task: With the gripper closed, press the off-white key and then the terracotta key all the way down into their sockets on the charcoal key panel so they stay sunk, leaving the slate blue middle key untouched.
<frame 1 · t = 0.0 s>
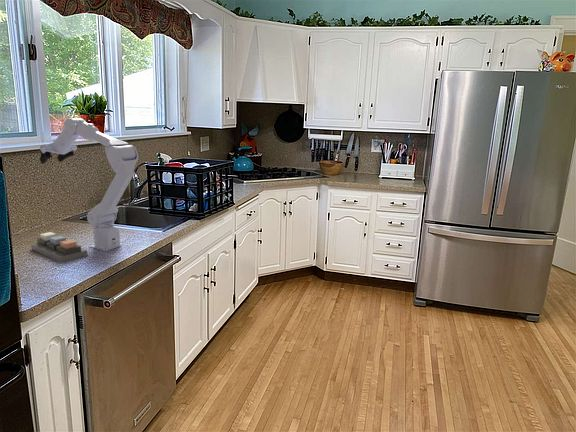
hand: (50, 160, 172), 32 cm above the worktop, tool tilted 50°, fingers open, 7 cm apart
key panel: (59, 252, 160), on the worktop
slate blue key: (58, 240, 158), point 5 cm above the worktop, slide at 0.0 cm
terracotta key: (68, 244, 154), point 5 cm above the worktop, slide at 0.0 cm
off-white key: (48, 236, 163), point 5 cm above the worktop, slide at 0.0 cm
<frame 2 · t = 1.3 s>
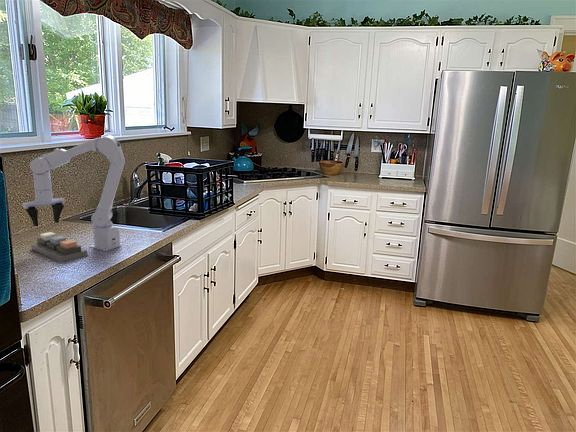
hand: (46, 224, 162), 10 cm above the worktop, tool pointing down, fingers open, 7 cm apart
nothing on the worktop moved.
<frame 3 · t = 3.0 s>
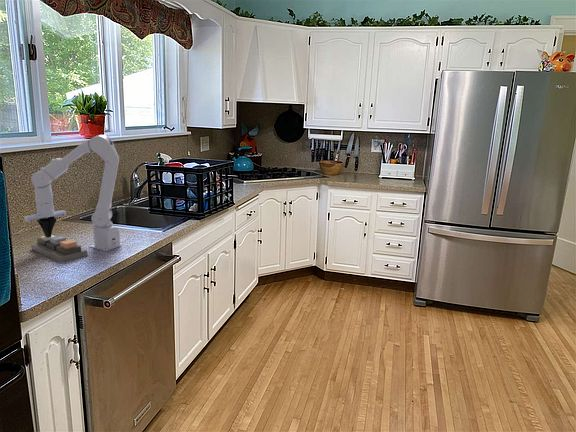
hand: (48, 236, 163), 5 cm above the worktop, tool pointing down, fingers closed, pressing on off-white key
off-white key: (48, 239, 163), point 4 cm above the worktop, slide at 1.1 cm, touching gripper
everything else where it was.
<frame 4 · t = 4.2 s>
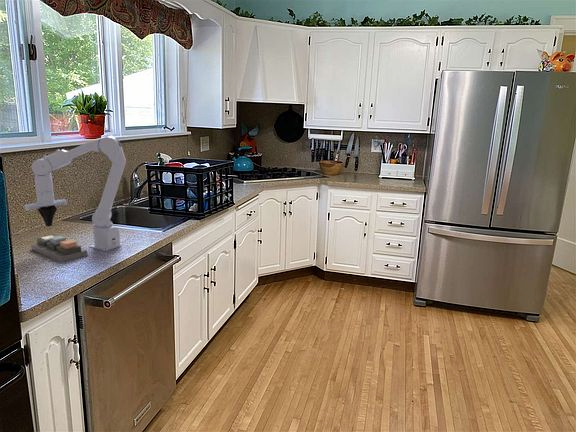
hand: (48, 225, 161), 9 cm above the worktop, tool pointing down, fingers closed
off-white key: (48, 239, 163), point 3 cm above the worktop, slide at 1.4 cm
everything else where it was.
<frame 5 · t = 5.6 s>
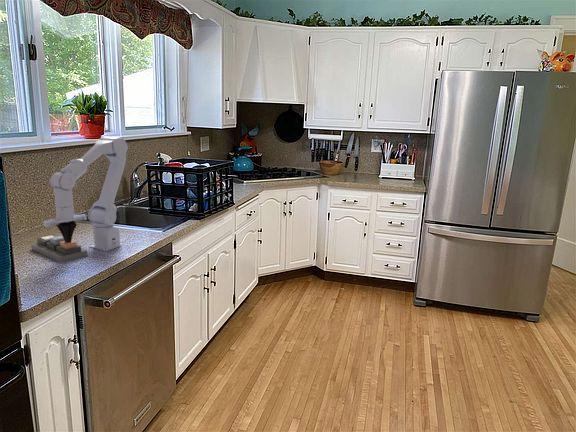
hand: (68, 242, 154), 6 cm above the worktop, tool pointing down, fingers closed, pressing on terracotta key
terracotta key: (68, 244, 154), point 5 cm above the worktop, slide at 0.1 cm, touching gripper
everything else where it was.
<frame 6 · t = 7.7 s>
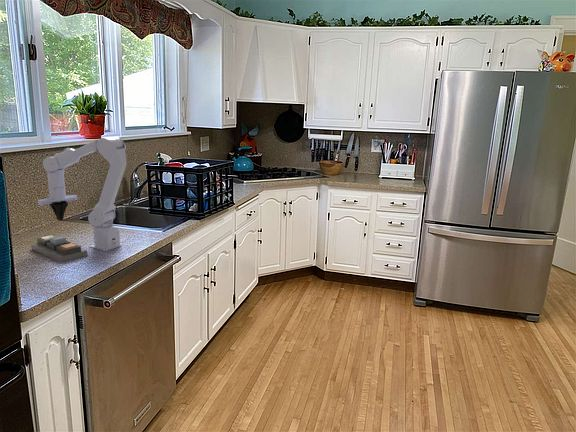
hand: (60, 220, 169), 10 cm above the worktop, tool pointing down, fingers closed
terracotta key: (68, 248, 155), point 3 cm above the worktop, slide at 1.4 cm
everything else where it was.
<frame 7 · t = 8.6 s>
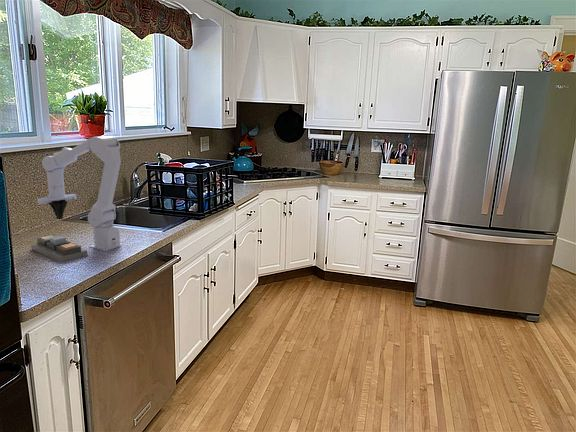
hand: (59, 218, 171), 9 cm above the worktop, tool pointing down, fingers closed
nothing on the worktop moved.
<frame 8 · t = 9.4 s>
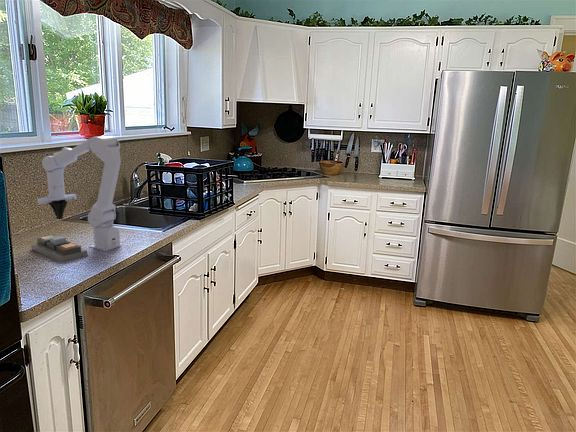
hand: (59, 218, 171), 9 cm above the worktop, tool pointing down, fingers closed
nothing on the worktop moved.
at the end: off-white key slide at 1.4 cm; terracotta key slide at 1.4 cm; slate blue key slide at 0.0 cm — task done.
